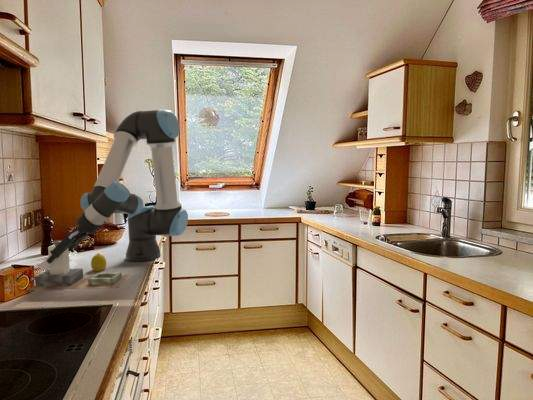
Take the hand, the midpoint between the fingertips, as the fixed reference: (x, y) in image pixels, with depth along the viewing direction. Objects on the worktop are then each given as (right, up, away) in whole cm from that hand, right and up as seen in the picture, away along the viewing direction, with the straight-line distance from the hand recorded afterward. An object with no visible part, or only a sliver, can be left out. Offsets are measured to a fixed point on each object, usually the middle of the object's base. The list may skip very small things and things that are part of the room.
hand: (49, 265), depth 148 cm
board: (+12, -7, +1) cm, 14 cm away
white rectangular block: (+4, -6, +1) cm, 7 cm away
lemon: (+11, -6, +17) cm, 21 cm away
